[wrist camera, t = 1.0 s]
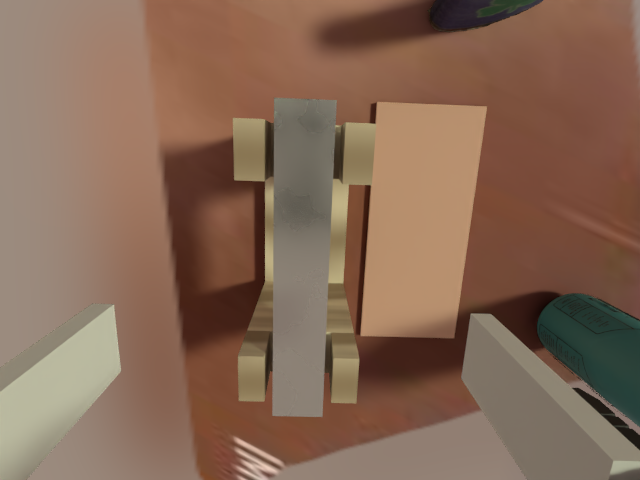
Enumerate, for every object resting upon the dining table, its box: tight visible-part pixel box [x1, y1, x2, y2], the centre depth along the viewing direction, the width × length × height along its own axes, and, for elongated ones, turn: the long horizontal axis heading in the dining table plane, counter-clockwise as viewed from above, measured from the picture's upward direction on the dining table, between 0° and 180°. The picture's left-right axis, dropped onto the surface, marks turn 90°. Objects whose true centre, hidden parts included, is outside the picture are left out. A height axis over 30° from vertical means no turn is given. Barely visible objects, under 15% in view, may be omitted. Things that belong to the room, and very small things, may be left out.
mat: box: [360, 102, 487, 338], centre depth 32 cm, size 21×9×1 cm, turn 178°
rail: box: [273, 98, 337, 417], centre depth 21 cm, size 18×3×3 cm, turn 178°
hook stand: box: [233, 118, 376, 403], centre depth 26 cm, size 17×7×13 cm, turn 178°
